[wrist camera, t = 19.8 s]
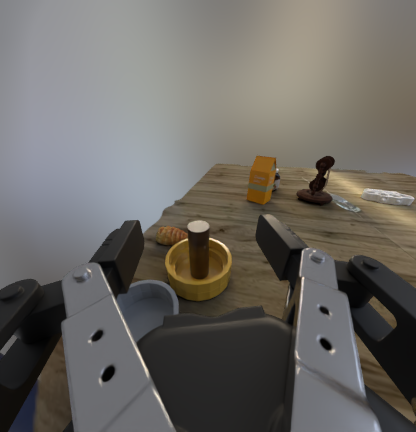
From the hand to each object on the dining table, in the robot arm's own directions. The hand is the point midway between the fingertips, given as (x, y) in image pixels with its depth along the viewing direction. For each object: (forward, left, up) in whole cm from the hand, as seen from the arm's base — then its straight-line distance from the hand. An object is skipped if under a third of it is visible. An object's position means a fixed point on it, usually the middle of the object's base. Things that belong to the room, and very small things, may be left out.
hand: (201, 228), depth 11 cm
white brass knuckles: (+106, -19, -25) cm, 111 cm away
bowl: (+11, +13, -25) cm, 30 cm away
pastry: (+14, +29, -25) cm, 41 cm away
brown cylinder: (+11, +13, -24) cm, 30 cm away
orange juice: (+62, +25, -25) cm, 72 cm away
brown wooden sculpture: (+81, +6, -25) cm, 85 cm away
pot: (-4, +11, -25) cm, 27 cm away
